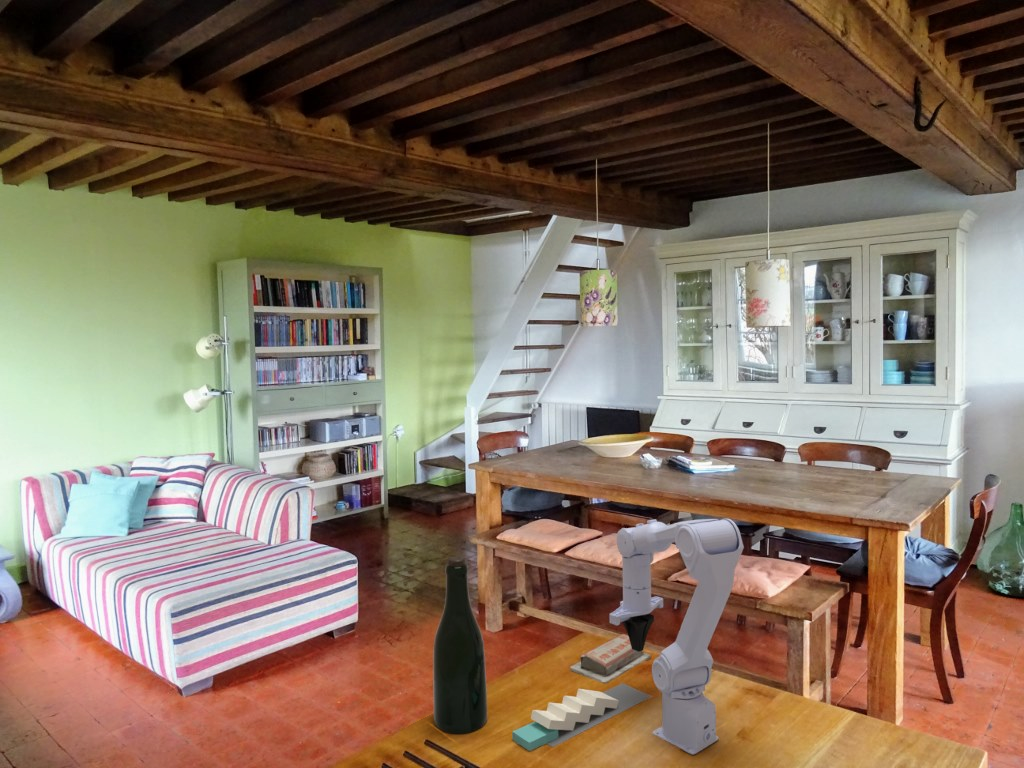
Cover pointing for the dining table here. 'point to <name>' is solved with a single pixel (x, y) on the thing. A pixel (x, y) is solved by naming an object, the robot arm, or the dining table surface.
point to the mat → (605, 711)
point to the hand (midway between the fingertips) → (637, 649)
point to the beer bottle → (459, 659)
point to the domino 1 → (534, 735)
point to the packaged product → (609, 660)
